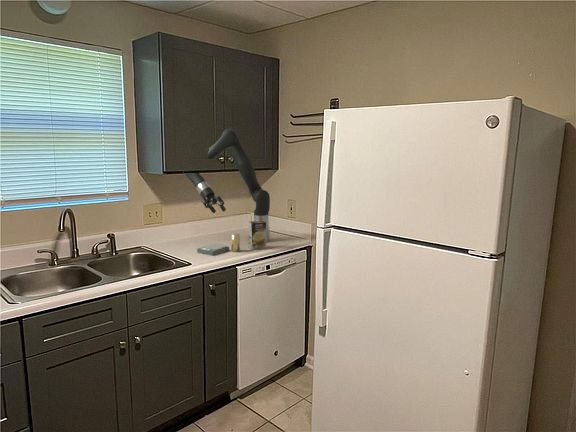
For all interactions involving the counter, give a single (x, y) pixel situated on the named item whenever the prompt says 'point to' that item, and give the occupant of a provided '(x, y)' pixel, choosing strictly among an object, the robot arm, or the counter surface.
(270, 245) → the counter surface
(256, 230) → the coffee box
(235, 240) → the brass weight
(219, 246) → the kitchen scale
